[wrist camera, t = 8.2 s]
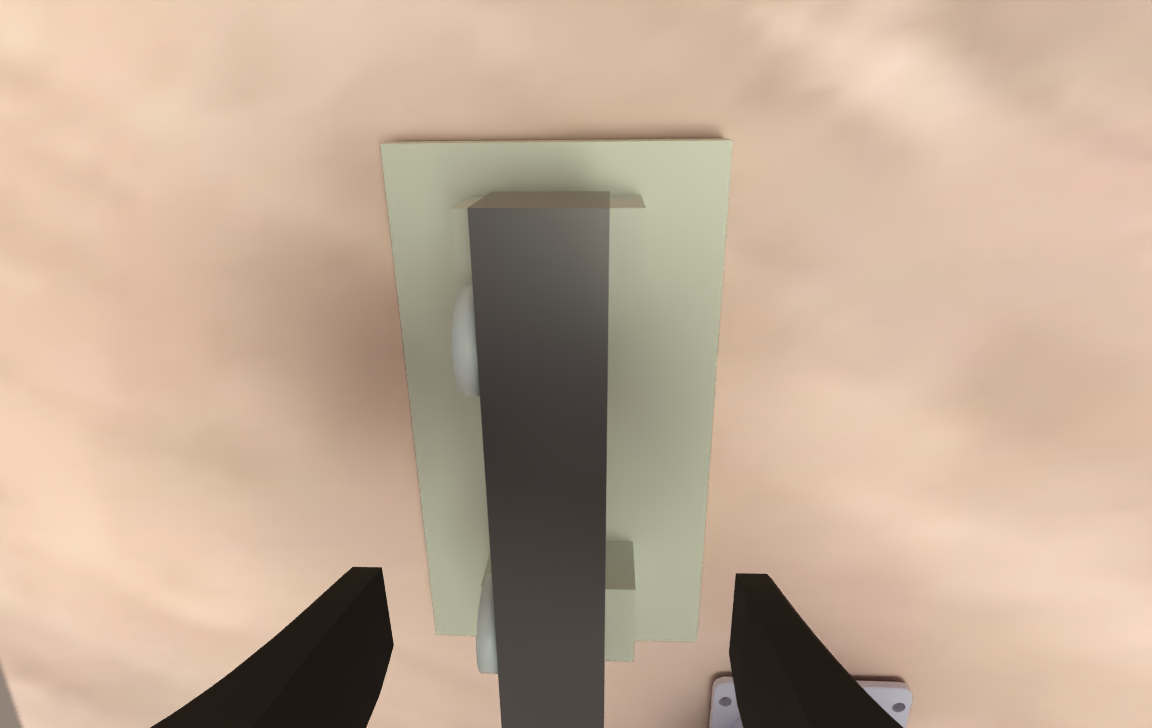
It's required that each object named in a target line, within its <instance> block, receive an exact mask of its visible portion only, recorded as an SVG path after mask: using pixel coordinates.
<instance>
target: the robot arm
mask: <svg viewBox="0 0 1152 728" xmlns="http://www.w3.org/2000/svg"><path fill="white" fill-rule="evenodd" d="M393 646H394V644H393V637H392V631H391V624H390V618H389V611H388V605H387V598H386V592H385V585H384V579H383V573H382V567H352V568H351V569H350V570H349V571H348V572H346V573H345V574H344V575H343V576H342V577H341V578H340V579H339V580H338V581H336V582H335V583H334V584H333V585H332V586H331V587H330V588H329V589H328V590H327V591H325V592H324V593H323V594H322V595H321V596H320V597H319V598H318V599H317V600H316V601H314V602H313V603H312V604H311V605H310V606H309V607H308V608H307V609H306V610H305V611H303V612H302V613H301V614H300V615H299V616H298V617H297V618H295V619H294V620H293V621H292V622H291V623H290V624H289V625H288V626H286V627H285V628H284V629H283V630H282V631H281V632H280V633H278V634H277V635H276V636H275V637H274V638H273V639H271V640H270V641H269V642H268V643H266V644H265V645H264V646H263V647H261V648H260V649H259V650H258V651H256V652H255V653H254V654H253V655H252V656H250V657H249V658H248V659H247V660H245V661H244V662H243V663H242V664H240V665H239V666H238V667H237V668H236V669H234V670H233V671H232V672H231V673H229V674H228V675H227V676H225V677H224V678H223V679H221V680H220V681H219V682H217V683H216V684H214V685H213V686H212V687H210V688H209V689H208V690H206V691H205V692H203V693H202V694H201V695H199V696H198V697H196V698H195V699H193V700H192V701H190V702H189V703H188V704H186V705H185V706H183V707H182V708H180V709H179V710H177V711H176V712H174V713H173V714H171V715H170V716H168V717H167V718H165V719H163V720H162V721H160V722H159V723H157V724H155V725H154V726H152V727H151V728H366V727H367V724H368V722H369V719H370V717H371V715H372V712H373V710H374V707H375V705H376V702H377V700H378V697H379V695H380V692H381V688H382V685H383V682H384V678H385V675H386V672H387V668H388V664H389V661H390V657H391V653H392V650H393ZM729 656H730V662H731V669H732V676H733V677H720V678H718V679H716V680H715V681H714V683H713V687H712V699H711V710H710V722H709V728H906V725H907V721H908V717H909V712H910V708H911V704H912V700H913V694H912V692H911V690H910V688H909V686H908V685H907V684H905V683H902V682H886V681H856V680H855V679H854V678H853V677H852V676H851V675H850V674H849V673H848V672H847V671H846V670H845V669H844V668H843V666H842V665H841V664H840V663H839V662H838V661H837V660H836V659H835V657H834V656H833V655H832V654H831V653H830V652H829V650H828V649H827V648H826V647H825V646H824V645H823V643H822V642H821V641H820V640H819V639H818V638H817V636H816V635H815V634H814V633H813V632H812V630H811V629H810V628H809V627H808V626H807V624H806V623H805V622H804V621H803V619H802V618H801V617H800V615H799V614H798V613H797V612H796V610H795V609H794V608H793V607H792V605H791V604H790V603H789V601H788V600H787V599H786V597H785V596H784V595H783V593H782V592H781V591H780V589H779V588H778V587H777V585H776V584H775V583H774V581H773V580H772V579H771V578H770V577H769V576H768V575H767V574H738V573H736V579H735V590H734V602H733V613H732V625H731V637H730V648H729ZM723 697H728V698H724V699H723ZM896 703H897V704H896Z"/></svg>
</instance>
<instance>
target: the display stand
mask: <svg viewBox="0 0 1152 728" xmlns="http://www.w3.org/2000/svg"><path fill="white" fill-rule="evenodd" d="M732 145H733V140H729V139H725V138H696V139H596V140H496V141H396V142H389V143H382V144H380V147H381V156H382V164H383V173H384V182H385V191H386V199H387V208H388V217H389V226H390V235H391V243H392V252H393V261H394V270H395V278H396V287H397V296H398V305H399V314H400V322H401V331H402V340H403V349H404V357H405V366H406V375H407V384H408V393H409V401H410V410H411V419H412V428H413V437H414V445H415V454H416V463H417V472H418V480H419V489H420V498H421V507H422V516H423V524H424V533H425V542H426V551H427V559H428V568H429V577H430V586H431V595H432V603H433V612H434V621H435V630H436V635H459V636H477V620H478V610H479V602H480V596H481V591H482V587H483V583H484V580H485V577H486V575H487V574H492V572H491V557H490V542H489V527H488V512H487V497H486V482H485V467H484V452H483V436H482V421H481V406H480V397H467V396H462V395H461V394H460V392H459V390H458V387H457V384H456V380H455V375H454V368H453V356H452V327H453V316H454V308H455V303H456V299H457V295H458V292H459V290H460V288H461V287H462V286H463V285H472V270H471V255H470V240H469V225H468V210H467V208H468V207H469V206H471V205H472V204H474V203H475V202H477V201H478V200H480V199H481V198H483V197H484V196H486V195H487V194H489V193H490V192H537V191H610V221H609V309H608V396H607V484H606V571H605V659H604V661H624V662H634V640H639V641H675V642H697V633H698V619H699V605H700V591H701V577H702V563H703V549H704V535H705V521H706V508H707V494H708V480H709V466H710V452H711V438H712V424H713V410H714V396H715V382H716V368H717V354H718V340H719V326H720V312H721V299H722V285H723V271H724V257H725V243H726V229H727V215H728V201H729V187H730V173H731V159H732Z"/></svg>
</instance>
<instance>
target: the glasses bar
mask: <svg viewBox="0 0 1152 728" xmlns="http://www.w3.org/2000/svg"><path fill="white" fill-rule="evenodd" d="M467 210H468V225H469V240H470V255H471V270H472V285H463V286H462V287H461V288H460V290H459V292H458V295H457V299H456V303H455V308H454V316H453V327H452V356H453V368H454V375H455V380H456V384H457V387H458V390H459V392H460V394H461V395H462V396H467V397H480V406H481V421H482V436H483V452H484V467H485V482H486V497H487V512H488V527H489V542H490V557H491V572H492V574H487V575H486V577H485V580H484V583H483V587H482V591H481V596H480V602H479V610H478V620H477V638H476V650H477V664H478V669H479V672H480V673H487V674H498V678H499V693H500V708H501V724H502V728H604V659H605V571H606V484H607V396H608V309H609V221H610V191H537V192H490V193H489V194H487V195H486V196H484V197H483V198H481V199H480V200H478V201H477V202H475V203H474V204H472V205H471V206H469V207H468V208H467Z"/></svg>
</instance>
